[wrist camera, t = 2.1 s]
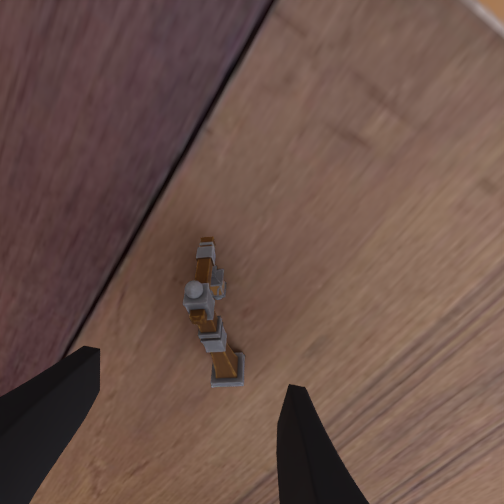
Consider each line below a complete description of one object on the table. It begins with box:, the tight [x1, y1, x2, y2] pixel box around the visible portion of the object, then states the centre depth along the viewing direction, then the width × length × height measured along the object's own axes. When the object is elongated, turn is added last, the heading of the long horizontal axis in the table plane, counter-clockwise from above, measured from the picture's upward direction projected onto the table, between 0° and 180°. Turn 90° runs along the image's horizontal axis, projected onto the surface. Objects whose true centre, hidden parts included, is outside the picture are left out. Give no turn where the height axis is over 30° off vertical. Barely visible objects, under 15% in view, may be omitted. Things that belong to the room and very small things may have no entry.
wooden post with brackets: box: [183, 237, 245, 387], centre depth 16 cm, size 2×8×4 cm, turn 6°
